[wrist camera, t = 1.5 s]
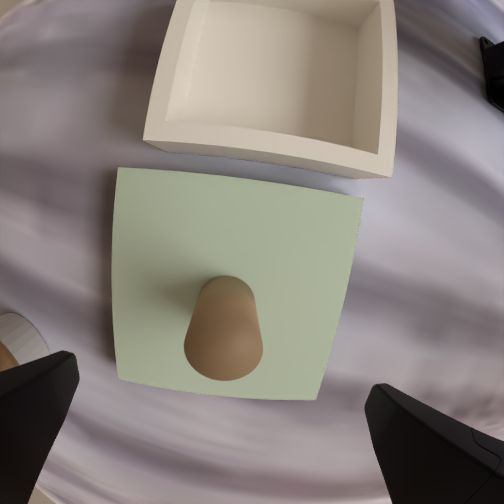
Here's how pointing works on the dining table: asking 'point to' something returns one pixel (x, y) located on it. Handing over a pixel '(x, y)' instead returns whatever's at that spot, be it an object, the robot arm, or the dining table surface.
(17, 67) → the dining table surface
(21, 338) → the coffee cup
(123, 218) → the lid
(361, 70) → the cream square tray
